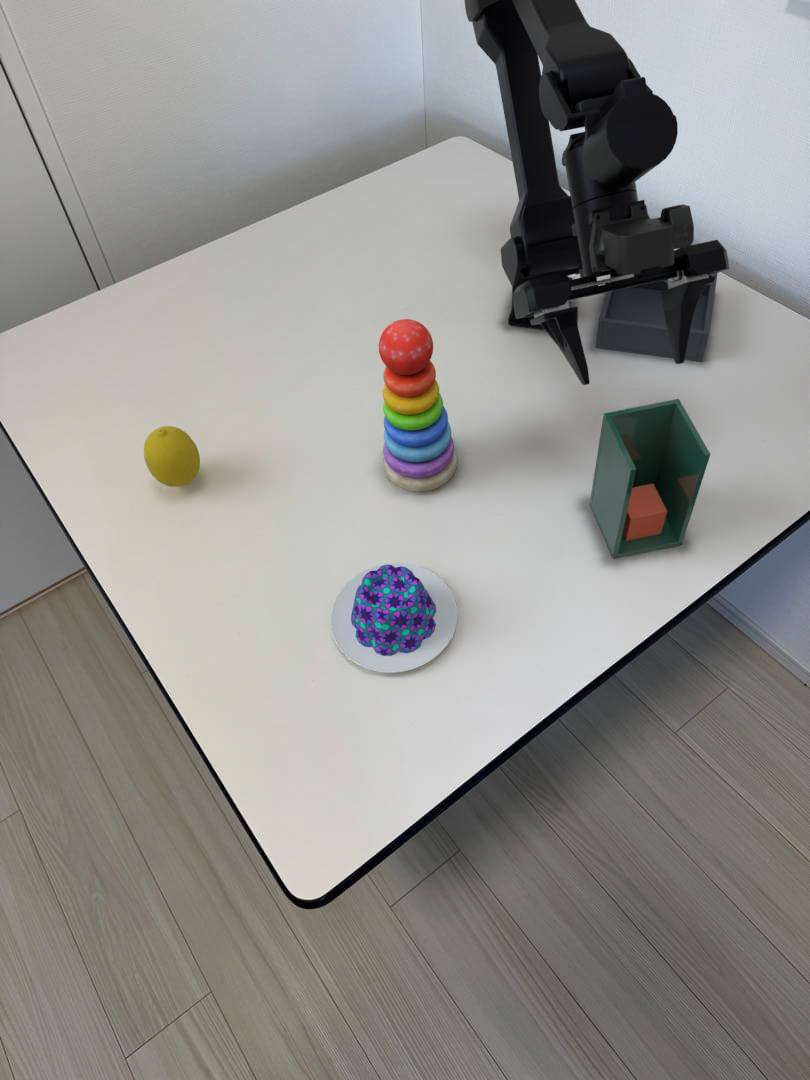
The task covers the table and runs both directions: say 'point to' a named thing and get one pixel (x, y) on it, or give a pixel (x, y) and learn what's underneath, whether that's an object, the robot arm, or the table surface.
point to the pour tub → (647, 472)
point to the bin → (650, 321)
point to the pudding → (393, 617)
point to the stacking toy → (414, 411)
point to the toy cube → (644, 513)
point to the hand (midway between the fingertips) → (633, 374)
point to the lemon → (171, 456)
